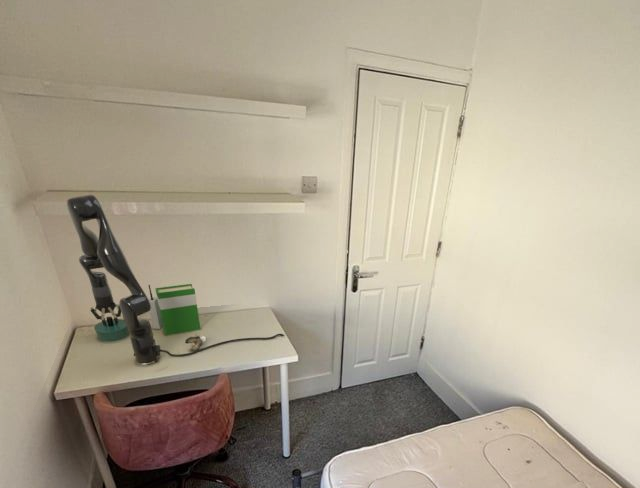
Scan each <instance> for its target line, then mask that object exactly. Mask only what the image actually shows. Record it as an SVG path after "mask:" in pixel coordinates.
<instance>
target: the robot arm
mask: <svg viewBox="0 0 640 488" xmlns="http://www.w3.org/2000/svg"><path fill="white" fill-rule="evenodd" d="M66 207H67V211H68V214H69V216H70V219H71V221H72V224H73V226H74V228H75V231H76V233H77V235H78V239H79V243H80V248H81V251H82V253H83V254H80V255H79V258H78V261H79V264H80V266H81V267H82V269H83V270H84V272H85V273H86V275H87V278H88V280H89V282H90V286H91V292H92V295H93V298H94V302H95V306H94V307H91V308H90V312H91V313H92V314H93V316H94V317H95V318H96V320H100V321H101V322H102V323H103V325H105V326H107V324H106V320H107V319H106V317H105V315H106V314H111V315H112V317H113V319H114V321H115V324H116V325H117V323H118V319H119V318H120V317H121V316H122V318H123V320H124V321H125V324H126V326H127V328H128V331H129V335H128V336H129V339H130V343H131V346H132V351H133V357H134V358H135V362H136V364H138V365H139V366H140V365H142V366H150V365H154V364H155V363H159V357H161V353H165V354H167V355H168V356H171V357H185V356H186V357H187V356H191V355H195V354H196V353H199V352H202V351H205V350H207V349H210V348H214V347H216V346H219V345H223V344H227V343H233V342H238V341H250V340H251V341H252V340H271V339H274V338H276V337H278V336H281V337H285V335H284V334H282V333H277V334H275V335H272V336H269V337H245V338H244V337H243V338H235V339H230V340H225V341H224V340H223V341H221V342H218V343H214V344H211V345H208V346H205V347H203V348H199V350H197V351H194V352H192V351H190V352H187V353H182V354H173V353H171V352H170V351H168V350H165V349H161V345H160V344H157V343H156V340H155V338H154V334H153V328H152V324H151V322H150V321H149V320H148V319H144V318H138V317H140V316H142V315H144V314H147V313H150V312H149V311H150V310H151V305H150V302H149V298H148V296H147V294H146V293H145V291H144V289H143V288H142V286H141V284H140V283H139V281H138V279H137V278H136V275H135V274H134V272H133V270H132V268H131V266H130V264H129V261H128V260H127V258H126V255H125V253H124V251H123V250H122V248H121V246H120V243H119V242H118V240H117V239H116V236H115V235H114V233H113V231H112V228H111V225H110V223H109V221H108V219H107V215H106V213H105V211H104V209H103V207H102V205H101V202H100V201H99V199H98V198H97V197H96V196H95V195H94V194H86V195H80V196H74V197H70V198H67V200H66ZM92 220H96V222H97V225H98V229H99V231H98V232H99V234H98V236H97V234H96V233H95V232H94V231H93V230H91V229H90V228H88V227H87V226H86V225H85V224H84V223H83V222H88V221H92ZM96 269H97V270H98V269H104V270H105V271H106V272H107V273H109V274H110V275H111V276H113V277H114V278H116V279H117V280H119V281H120V282H122V283H123V284H124V285H125V286H126V287H127V289H128V290H129V292H130V295H127V296H125V297H122V298H120V299H119V304H116V302H115V301H114V297H113V294H112V290H111V287H110V285H109V281H108V278H107V274H106V273H105V272H103V271H102V272H101V271H94V270H96ZM115 308H116V309H117V313H116V311H115ZM97 310H98V311H99V312H100V315H99V313H97Z"/></svg>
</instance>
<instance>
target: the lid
mask: <svg viewBox="0 0 640 488" xmlns="http://www.w3.org/2000/svg"><path fill="white" fill-rule="evenodd" d="M117 319H118V323H117V325H116V324H115V321H114V318H113V316H107V317H105V320H106V324H107V326H105V325H103V323H102V321H100V322H98V323H97V324H95V325H94V331H95V332H99V333H114V332H118V331H121V330H123V329H125V328H126V327H127V326H126V324H125V321H124V319H121V318H117Z"/></svg>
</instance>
